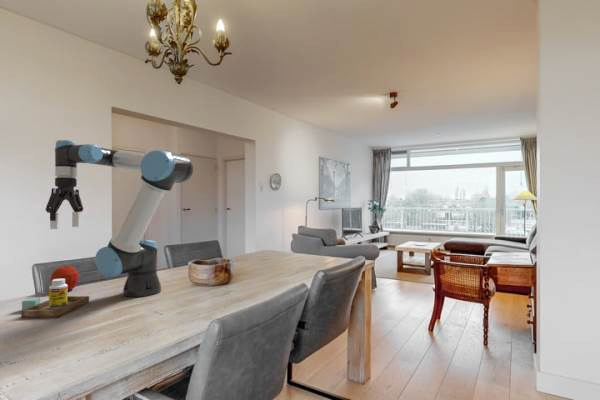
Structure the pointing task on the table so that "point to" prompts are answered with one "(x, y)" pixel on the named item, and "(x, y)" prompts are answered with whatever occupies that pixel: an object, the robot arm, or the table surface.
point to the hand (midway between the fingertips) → (65, 227)
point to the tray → (45, 312)
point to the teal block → (30, 302)
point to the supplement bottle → (58, 294)
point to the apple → (66, 276)
